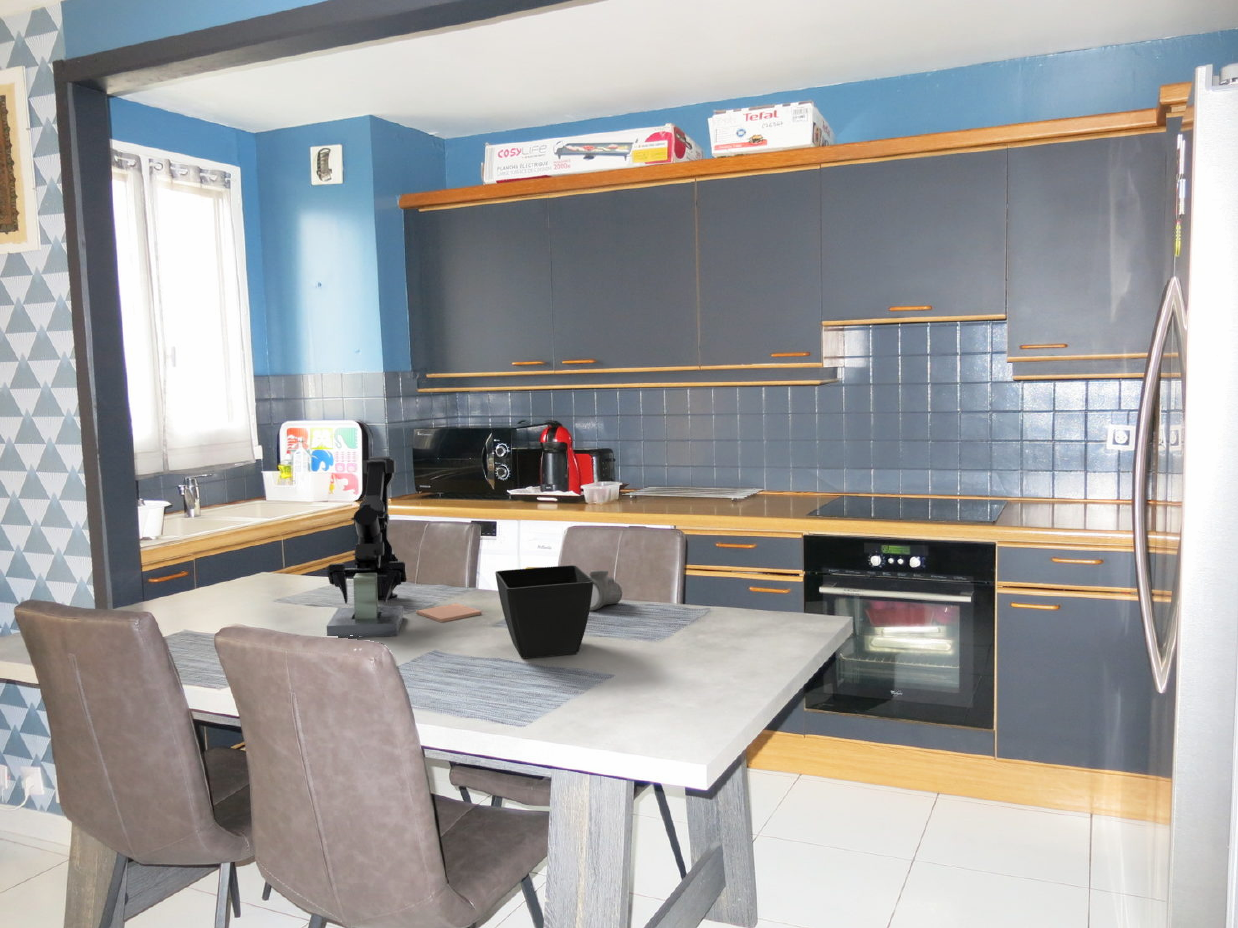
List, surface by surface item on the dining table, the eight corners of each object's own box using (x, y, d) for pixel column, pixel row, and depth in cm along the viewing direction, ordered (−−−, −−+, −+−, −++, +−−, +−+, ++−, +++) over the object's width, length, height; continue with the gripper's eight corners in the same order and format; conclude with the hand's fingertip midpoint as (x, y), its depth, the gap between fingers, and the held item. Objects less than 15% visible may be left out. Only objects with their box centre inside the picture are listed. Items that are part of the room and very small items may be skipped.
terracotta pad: (416, 613, 251) (416, 610, 251) (456, 606, 259) (456, 603, 259) (441, 622, 242) (441, 619, 242) (481, 614, 250) (481, 611, 250)
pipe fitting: (599, 611, 250) (599, 571, 250) (575, 610, 255) (575, 570, 255) (628, 608, 259) (628, 569, 260) (604, 606, 264) (604, 568, 265)
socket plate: (338, 619, 245) (338, 608, 245) (403, 617, 247) (403, 605, 247) (327, 638, 228) (326, 625, 227) (396, 635, 230) (396, 623, 229)
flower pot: (508, 664, 206) (507, 586, 204) (495, 641, 224) (494, 569, 222) (595, 657, 211) (595, 581, 209) (576, 635, 229) (575, 564, 227)
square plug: (357, 625, 240) (356, 573, 238) (378, 624, 240) (376, 572, 239) (355, 630, 235) (353, 577, 234) (376, 629, 235) (374, 576, 234)
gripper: (326, 531, 238) (320, 585, 228) (404, 529, 241) (402, 582, 231) (332, 557, 247) (327, 610, 237) (408, 554, 249) (405, 607, 239)
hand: (365, 601), depth 236 cm, fingers open, 9 cm apart
